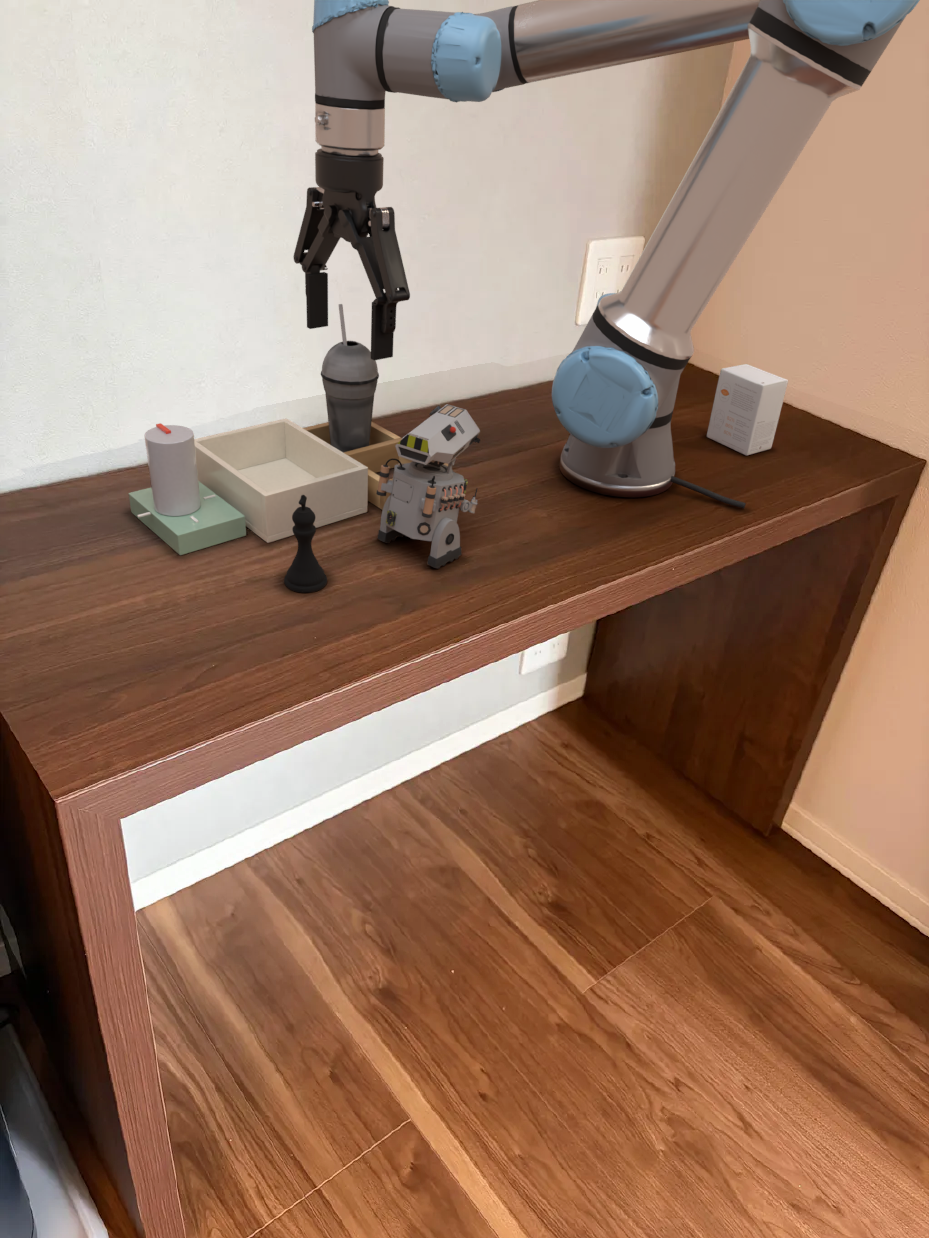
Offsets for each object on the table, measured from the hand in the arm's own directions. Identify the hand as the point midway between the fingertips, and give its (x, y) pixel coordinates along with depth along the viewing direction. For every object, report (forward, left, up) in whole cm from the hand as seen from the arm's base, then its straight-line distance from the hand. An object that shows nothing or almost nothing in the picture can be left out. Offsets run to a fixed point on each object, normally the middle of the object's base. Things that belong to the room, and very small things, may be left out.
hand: (348, 342), depth 113 cm
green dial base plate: (-5, +25, -16) cm, 30 cm away
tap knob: (-5, +26, -13) cm, 30 cm away
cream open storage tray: (-5, +14, -16) cm, 21 cm away
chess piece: (-23, +21, -16) cm, 35 cm away
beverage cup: (0, 0, -16) cm, 16 cm away
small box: (-26, -52, -16) cm, 60 cm away
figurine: (-24, +5, -16) cm, 29 cm away
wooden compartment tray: (-5, 0, -16) cm, 16 cm away
